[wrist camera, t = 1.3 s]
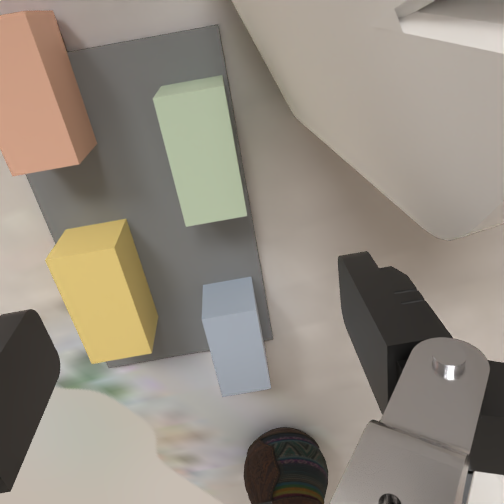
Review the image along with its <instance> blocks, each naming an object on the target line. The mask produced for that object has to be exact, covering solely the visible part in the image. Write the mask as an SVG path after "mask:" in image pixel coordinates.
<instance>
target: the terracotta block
mask: <svg viewBox="0 0 504 504" xmlns="http://www.w3.org/2000/svg"><path fill="white" fill-rule="evenodd" d="M96 144H97V141H96V138H95V135H94V132H93V129H92V126H91V123H90V120H89V117H88V114H87V111H86V108H85V105H84V102H83V99H82V96H81V93H80V90H79V87H78V84H77V81H76V78H75V75H74V72H73V69H72V66H71V63H70V60H69V57H68V54H67V51H66V48H65V45H64V42H63V39H62V36H61V33H60V30H59V27H58V24H57V21H56V18H55V15H54V12H53V11H21V12H15V13H10V14H4V15H0V149H1V151H2V154H3V156H4V158H5V160H6V163H7V165H8V167H9V169H10V172H11V174H12V176H17V175H23V174H28V173H34V172H40V171H45V170H51V169H56V168H62V167H67V166H73V165H79V164H80V163H81V162H82V161H83V160H84V158H85V157H86V156H87V155H88V154H89V153H90V151H91V150H92V149H93V148H94V147H95V146H96Z"/></svg>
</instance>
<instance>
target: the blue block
mask: <svg viewBox="0 0 504 504" xmlns="http://www.w3.org/2000/svg"><path fill="white" fill-rule="evenodd" d="M202 323H203V326H204V330H205V334H206V337H207V341H208V345H209V349H210V352H211V356H212V360H213V363H214V367H215V371H216V375H217V378H218V382H219V386H220V389H221V393H222V397H226V396H232V395H237V394H243V393H249V392H255V391H260V390H266V389H271V384H270V377H269V371H268V364H267V358H266V351H265V346H264V341H263V335H262V330H261V325H260V320H259V314H258V309H257V304H256V298H255V293H254V288H253V283H252V277H246V278H240V279H234V280H229V281H223V282H217V283H212V284H206V285H203V296H202Z"/></svg>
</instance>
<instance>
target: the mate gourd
mask: <svg viewBox="0 0 504 504" xmlns="http://www.w3.org/2000/svg"><path fill="white" fill-rule="evenodd" d="M244 481H245V487H246V491H247V493H248V496H249V499H250V501H251V504H258V503H264V502H270V501H272V504H324V498H325V494H326V489H327V486H328V470H327V465H326V461H325V459H324V457H323V455H322V453H321V451H320V449H319V446H318V445H317V443H316V442H315V440H313V439H312V438H311V437H310V436H309V435H307V434H306V433H304V432H302V431H299V430H296V429H293V428H287V427H286V428H277V429H273V430H271V431H269V432H267V433H265V434H263V435H261V436H260V437H259V438H258V439H256V440H255V441H254V442H253V444H252V445H251V446H250V447H249V449H248V452H247V457H246V461H245V465H244Z"/></svg>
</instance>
